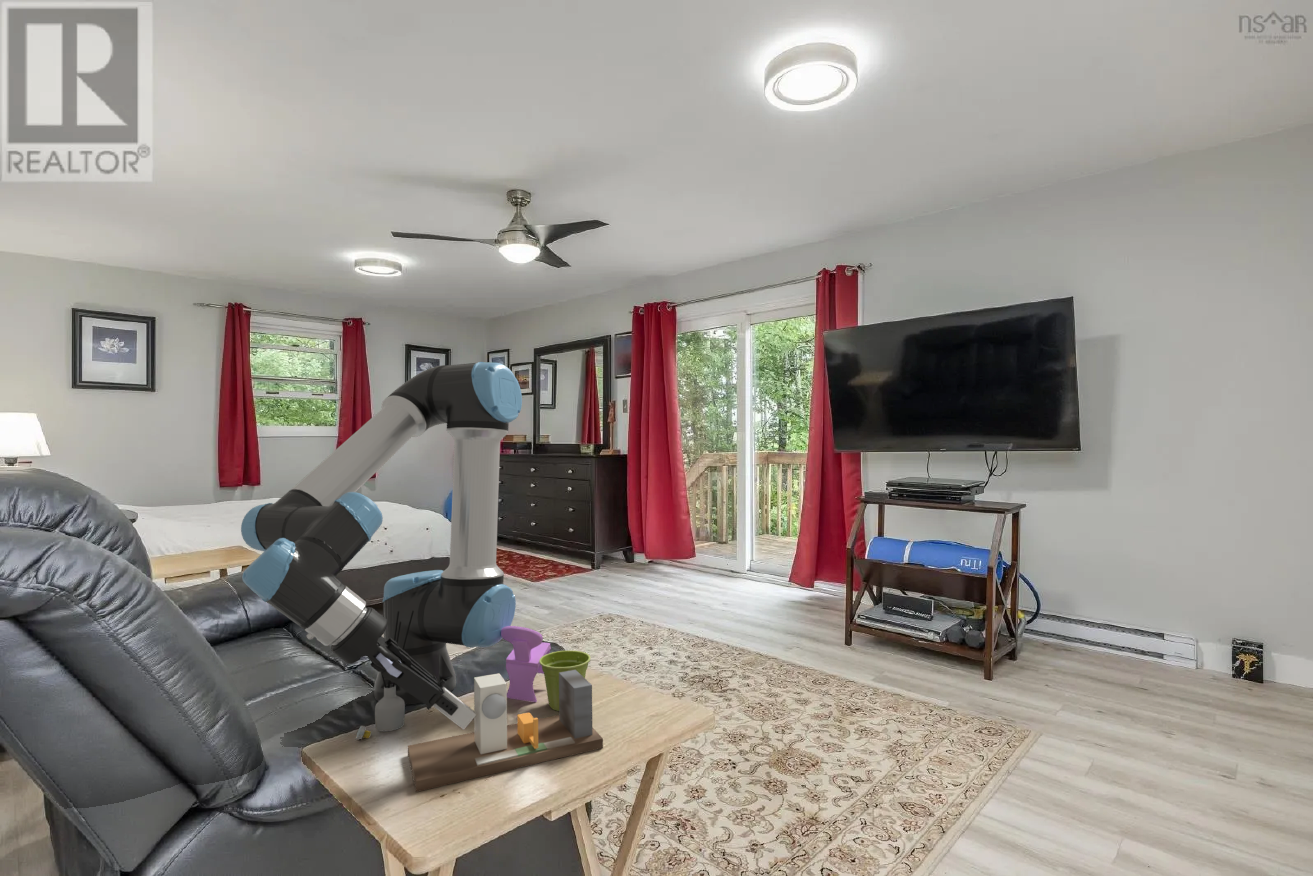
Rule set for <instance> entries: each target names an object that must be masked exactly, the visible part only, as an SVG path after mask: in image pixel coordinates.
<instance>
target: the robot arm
mask: <svg viewBox="0 0 1313 876" xmlns="http://www.w3.org/2000/svg"><path fill="white" fill-rule="evenodd" d="M522 407H523V396H522V390H521V387H520V383H519V381H518V379H517V378H516V376H515V374H514V373H513V372H512V370H511V369H510V368H509V367H507V366H506V365H504V364H503V363H499V362H488V361H487V362H484V361H478V362H470V363H461V364H459V363H458V364H447V365H446V364H444V365H436V366H433V367H430V368H427V369H425V370H423V371H421V372H419V373H417V374H415V375H414V376H413V377H411V378H410V379H408V380H407V381H405V382H403V383H402V384H401V385H400V386H398V387H397V388H396V389H395V390H394V391H392V392H391V393H390V394H389V395H388V396H387V397H385V398H384V400H383V401H382V403H381V409H380V410H379V411H378V412H377V413H376V414H374V416H372V417H371V418H370V419H369V420H368V421H366V422H365V423H364V424H363V425H362V426H361V427H360V428H359V429H357V431H355V432H354V433H353V434H352V435H351V436H350V437H349V438H348V439H346V440H345V441H343V442H342V444H341V445H340V446H338V447H337V448H336V449H335V450H334V451H332V452H331V453H330V454H329V455H328V456H327V457H326V458H325V459H324V460H323V461H321V462H320V463H319V464H318V465H317V466H315V467H314V468H313V470H311V471H310V472H309V473H308V474H307V475H305V477H303V478H302V479H301V480H300V481H299V482H298V483H296V484H295V485H294V486H293V487H292V488H291V489H290V490H288V491H287V492H286V493H284V495H282V497H280V498H279V499H278V500H277V501H276V502H274V503H273V502H268V503H265V504H260V505H257V506H254V507H252V508H250V510H249V511H247V512H246V514H245V515H244V517H243V519H242V521H241V525H240V533H241V537H242V539H243V541H244V543H245V544H246V545H248V546H249V548H251V549H253V550H255V551H256V550H257V551H259V552H260V551H261V552H262V553H261V554H260V555H259V556H258V557H256V559H254V561H252V562H251V563H250V564H249V565H248V566H247V568H245V570H244V571H243V573H242V576H241V578H242V582H243V583H244V584H245V585H246V586H247V587H248V588H249V589H250V590H251V591H252V592H253V593H255V594H256V595H257V597H259V598H260V599H261V601H263V602H264V603H267V604H268V605H270V606H271V607H273V608H274V609H275V610H276V611H278V612H279V613H281V614H282V615H283V616H285V617H287V618H288V619H289V620H290V621H292V622H293V623H295V624H296V625H297V626H298V627H300V628H301V629H302V630H304V631H305V632H306V633H307V634H306V638H307V640H309V641H310V640H312V641H313V639H314V638H316V640H317V641H318V642H320V643H321V644H322V645H323V646H325V647H328V646H330V651H331V653H333V654H334V655H336V656H337V657H339V658H340V659H341V660H343V661H344V662H345V663H346V664H351V665H352V664H354V663H357V662H358V661H359V660H360V659H362V658H363V657H367V658H368V659H369V661H370V662H371V663H370V667H372V669H374V670H376V671H377V674H376V678H375V681H374V685H373V686H374V687H373V690H374V693H373V696H374V699H375V700H376V701H377V702H379V701H380V700H381V699H382V698H383V697H384V683H383V679H382V675H383V677H384V679H385V683H386V685H388V681H389V680H390V681H391V684H393V683H395V685H396V695H397V696H399V697H400V698H402V699H403V700H404V703H405V706H406V705H414V704H422V703H423V704H424V705H425V708H426V710H427V711H430V710H431V709H432V707H433V708H435V709H436V710H437V711H439V712H440V713H441V714H443V715H444V716H445V717H446V718H448V719H449V720H450V721H452V722H453V723H454V724H455V725H457V726H458V727H459V728H461V729H462V731H463V730H465V729H466V728H467V727H468V726H469V725H470V723H471V722H472V720H474V717H475V716H476V713H475V711H474V709H472V708H471V707H470V706H468V704H466V703H465V702H463V701H462V700H461V699H460V698H458V697H457V696H456V695H455V694H454V693H452V691H453V690H454V689H455V688H456V685H457V681H456V679H457V678H456V676H457V675H456V672H455V669H454V666H453V663H452V660H451V658H450V655H449V650H448V647H447V644H450V645H451V644H452V645H457V646H464V647H466V648H483V649H484V648H490V647H492V646H495V645H496V644H497V643H499V642H500V641H501V640H503V638H502V636H501V629H502V628H503V627H506V626H512V624H513V620H514V617H515V612H516V607H517V602H516V596H515V594H514V592H513V589H512V588H511V587H510V586H508V585H507V584H504V571H503V570H502V569H501V568H500V567H499V566H498V564H497V547H498V546H497V545H498V521H499V520H498V519H499V518H498V514H499V513H498V512H499V511H498V510H499V487H500V486H499V485H500V483H499V482H500V481H499V480H500V455H501V453H500V452H501V441H502V440H503V439H504V438H505V437H506V436H507V435H508V434H509V423H511V422H513V421H515V420H516V419H517V418H518V417H519V413H520V412H521V411H522ZM442 424H446V431H447V433H449V435H450V436H451V437H452V438H453V440H454V443H453V444H454V445H453V465H452V466H453V469H452V470H453V471H452V473H453V474H452V493H451V494H452V495H451V520H450V543H449V544H450V547H449V550H450V551H449V564H448V567H446V568H445V570H442V569H434V570H425V571H418V572H412V573H407V574H404V575H398V576H395V577H391V578H390V579H388V580H387V581H386V582H385V584H384V585H383V586H384V587H383V599H382V614H381V613H380V612H378V611H377V610H376V609H375V608H373V607H372V606H371V607H369V606H368V607H367V602H366V601H365V600H364V599H363V598H362V597H360V596H359V595H358V594H357V593H355V592H354V591H353V590H351V589H350V588H349V587H348V586H347V585H345V584H344V583H342V582H341V581H340V580H339V579H338V578H336V577H337V576H338V575H339V574H340V573H341V572H342V571H343V569H344V568H345V567H346V566H347V565H349V563H350V562H351V561H352V559H353V558H354V557H356V556H357V555H358V553H359V552H360V551H361V550H362V549H363V548H364V547H365V546H366V544H368V543H369V542H370V541H371V540H372V537H373V536H374V535H375V533H376V532H377V531H378V529H380V528H381V526H382V524H383V521H384V520H383V518H384V517H383V513H382V512H381V509H380V508H379V507H378V505H377V503H375V502H374V500H372V499H371V498H370V497H368V496H366V495H364V494H362V493H360V492H357V491H358V490H359V489H361V487H363V485H365V483H367V481H369V479H370V478H372V477H373V476H374V475H375V474H376V473H377V472H378V471H379V470H380V469H381V468H382V467H384V465H385V464H386V463H387V462H388V461H390V459H391V458H392V457H393V456H394V455H395V454H396V453H398V452H399V450H400V449H401V448H402V447H404V445H405V444H406V443H407V442H408V441H410V440H411V438H419V437H421V436H422V435H424V433H425V432H426V431H428V429H430V428H432V427H435V426H437V425H442ZM398 611H399V617H398V625H397V632H396V640H397V635H398V629H399V623H400V622H401V627H400V633H399V639H398V644H397V642H396V640H395V641H394V635H395V628H396V620H397V612H398ZM412 611H414V612H413V616H412V620H411V624H410V628H409V632H408V635H407V639H406V643H405V647H404V650H403V649H402V648H403V645H404V641H405V637H406V633H407V629H408V625H409V622H410V618H411V614H412ZM381 672H382V673H383V674H382V675H381Z"/></svg>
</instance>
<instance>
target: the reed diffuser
mask: <svg viewBox="0 0 1313 876" xmlns="http://www.w3.org/2000/svg"><path fill="white" fill-rule="evenodd" d="M413 612H414V611H412V614H411V618H410V622H409V625H408V629H407V633H406V637H405V641H404V645H403V648H402V649H403V650H404V647H405V643H406V639H407V635H408V632H409V628H410V624H411V620H412V616H413ZM398 617H399V611H398V612H397V620H396V628H395V635H394V641H395V640H396V632H397V625H398ZM400 627H401V622H400V623H399V629H398V635H397V640H396V642H397V644H398V639H399V633H400ZM382 674H383V673H382V672H381V675H382ZM382 679H383V683H384V697H383V698H382V699H381V700H380V701H377V702H376V704H375V706H374V721H375V729H376V730H377V731H379V732H391V731H395V730H396V731H397V730H399V729H400V728H402V727H403V726H404V724H405V715H406V714H405V713H406V712H405V711H406V709H405V708H406V707H405V706H406V705H405V703H404V700H403V699H402V698H400V697H399V696H397V695H396V685H395V683H393V684H391V681H390V680H389V681H388V685H386V683H385V679H384V677H383V675H382ZM366 728H367V727H366V726H365V725H360V726H359V728H358V730H357V733H356V735H357V736H355V740H357V739H361V740H362V738H363V737H364V738H365V737H366V738H365V739H369V738H370V737H371V734H372V731H371V730H369V729H368V730H367V729H366ZM356 737H357V738H356Z"/></svg>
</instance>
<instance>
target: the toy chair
mask: <svg viewBox="0 0 1313 876" xmlns="http://www.w3.org/2000/svg"><path fill="white" fill-rule="evenodd" d="M501 636H502V640H504V641H507V642H508V643H510V644H511V645H512V647H513V649H512V650H511V652H510V653H509V654H508V656H507V657H506V659H505V669H506V672H507V675H508V678H509V686H508V688H507V689H508V690H507V699H512V700H517V701H518V700H520V701H524V702H525V701H526V702H532V703H537V702H538V700H537V696H536V693H535V690H534V681H535V678H536V676H537V674H543V675H544V672H543V670H542V666H541V665H540V663H539V660H540V658H541V657H542V656H544V655H546V654H549V653H551V649H552V647H551V643H550V642H543V639H544V637H543V634H541V632H538V631H537V630H534V629H531V628H528V627H524V626H516V625H511V626H506V627H503V628H502V629H501Z"/></svg>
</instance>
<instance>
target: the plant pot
mask: <svg viewBox="0 0 1313 876" xmlns="http://www.w3.org/2000/svg"><path fill="white" fill-rule="evenodd" d="M590 661H591V655H590V654H588V652H585V651H581V650H580V651H579V650H571V649H570V650H558V651H553V652H550V653H549V654H546V655H544V656H542V657H541V658H540V660H539V663H540V665H541V666H542V670H543V672H544V674H543V676H544V683H545V687H546V695H547V702H548V706H549V707H550V708H551V709H552V710H554V711H557V712H559V673H560V672H565V671H571V670H576V671H577V672H579V673H580V674H581V675H582V676H583V677H584V678H585V679H586V674H587V669H588V667H589V663H590Z"/></svg>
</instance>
